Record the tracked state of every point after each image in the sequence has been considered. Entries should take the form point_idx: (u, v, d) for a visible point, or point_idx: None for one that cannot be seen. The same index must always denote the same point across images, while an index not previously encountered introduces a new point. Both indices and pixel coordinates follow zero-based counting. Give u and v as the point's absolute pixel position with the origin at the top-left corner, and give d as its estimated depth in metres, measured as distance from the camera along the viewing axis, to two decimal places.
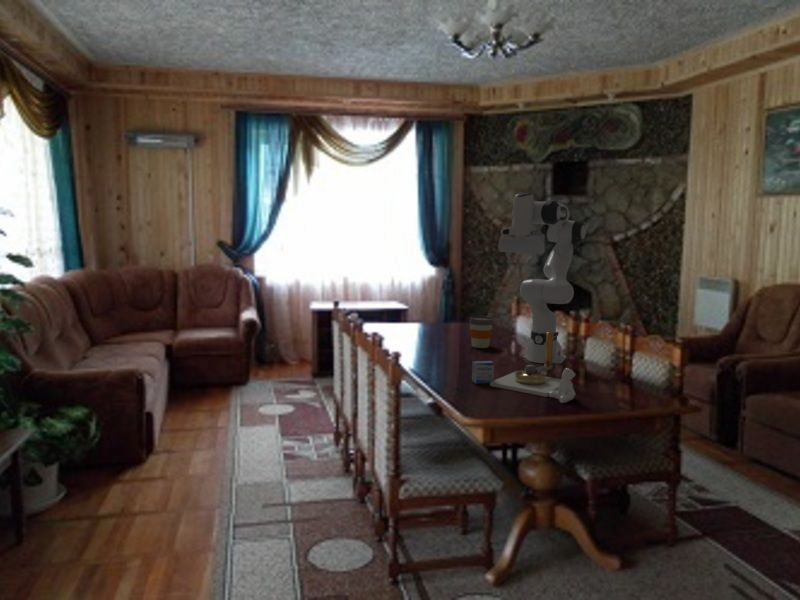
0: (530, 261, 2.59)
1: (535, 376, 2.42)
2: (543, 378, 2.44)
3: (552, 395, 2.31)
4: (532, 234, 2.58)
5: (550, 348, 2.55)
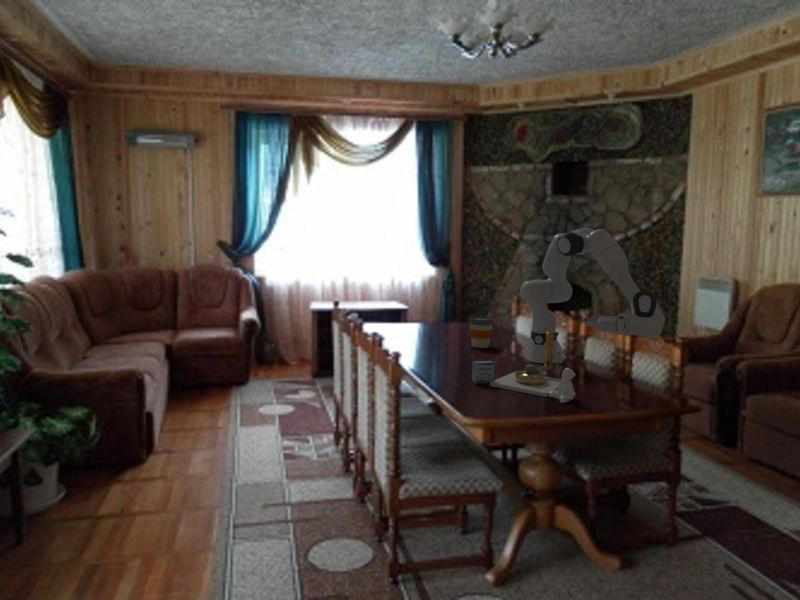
0: None
1: (535, 376, 2.42)
2: (543, 378, 2.44)
3: (552, 395, 2.31)
4: None
5: (550, 348, 2.55)
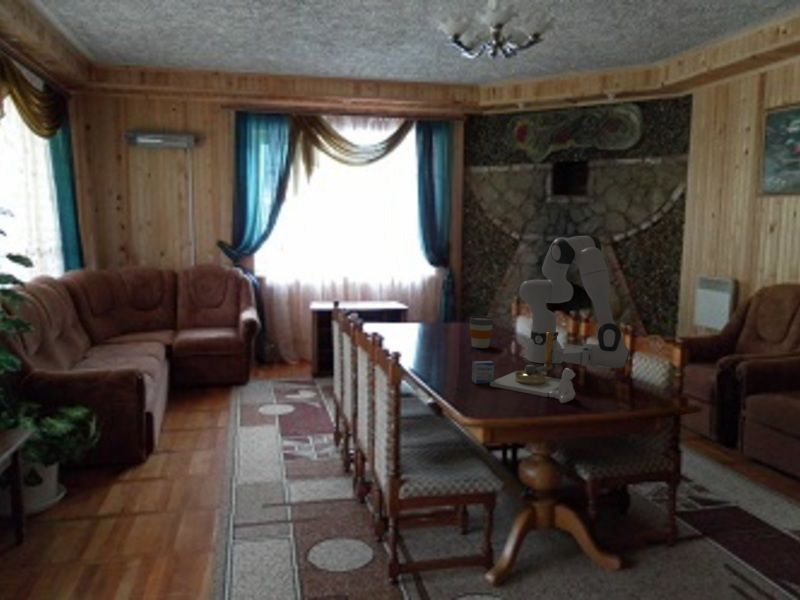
0: None
1: (535, 376, 2.42)
2: (543, 378, 2.44)
3: (552, 395, 2.31)
4: None
5: (550, 348, 2.55)
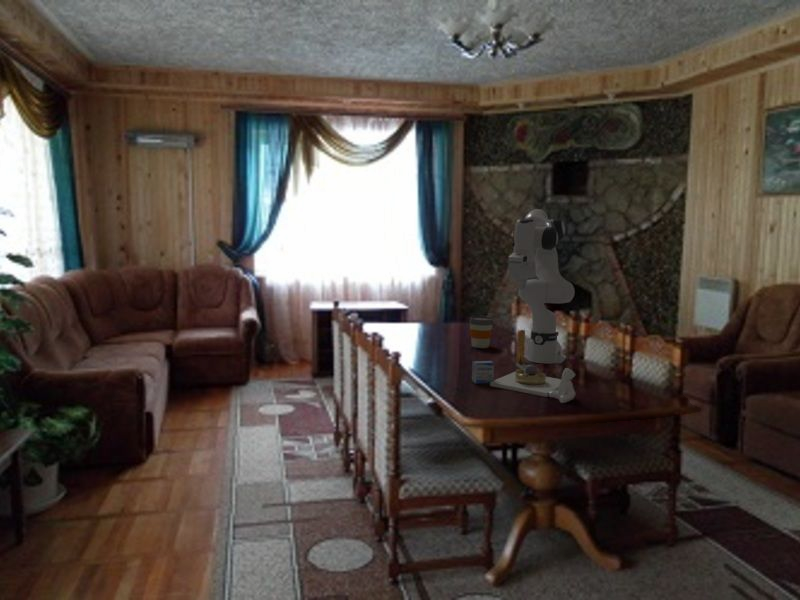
0: (525, 286, 2.62)
1: (545, 375, 2.44)
2: None
3: (552, 395, 2.31)
4: None
5: None
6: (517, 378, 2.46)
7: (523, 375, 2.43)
